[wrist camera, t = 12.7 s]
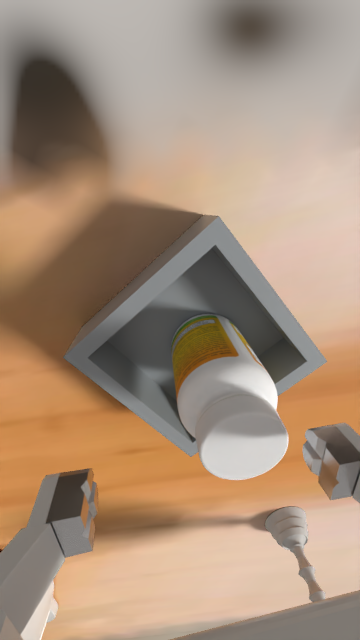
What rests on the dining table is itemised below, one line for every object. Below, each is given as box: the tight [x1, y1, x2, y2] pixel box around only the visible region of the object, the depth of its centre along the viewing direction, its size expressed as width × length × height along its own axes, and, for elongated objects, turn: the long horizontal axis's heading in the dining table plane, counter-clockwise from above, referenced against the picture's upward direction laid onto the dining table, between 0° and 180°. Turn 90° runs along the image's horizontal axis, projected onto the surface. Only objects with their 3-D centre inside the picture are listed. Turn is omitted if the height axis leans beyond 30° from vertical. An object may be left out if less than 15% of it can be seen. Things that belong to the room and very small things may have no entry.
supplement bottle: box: [171, 314, 288, 480], centre depth 16 cm, size 5×5×10 cm
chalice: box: [265, 507, 325, 602], centre depth 23 cm, size 7×7×18 cm
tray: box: [63, 215, 327, 457], centre depth 19 cm, size 12×12×4 cm
